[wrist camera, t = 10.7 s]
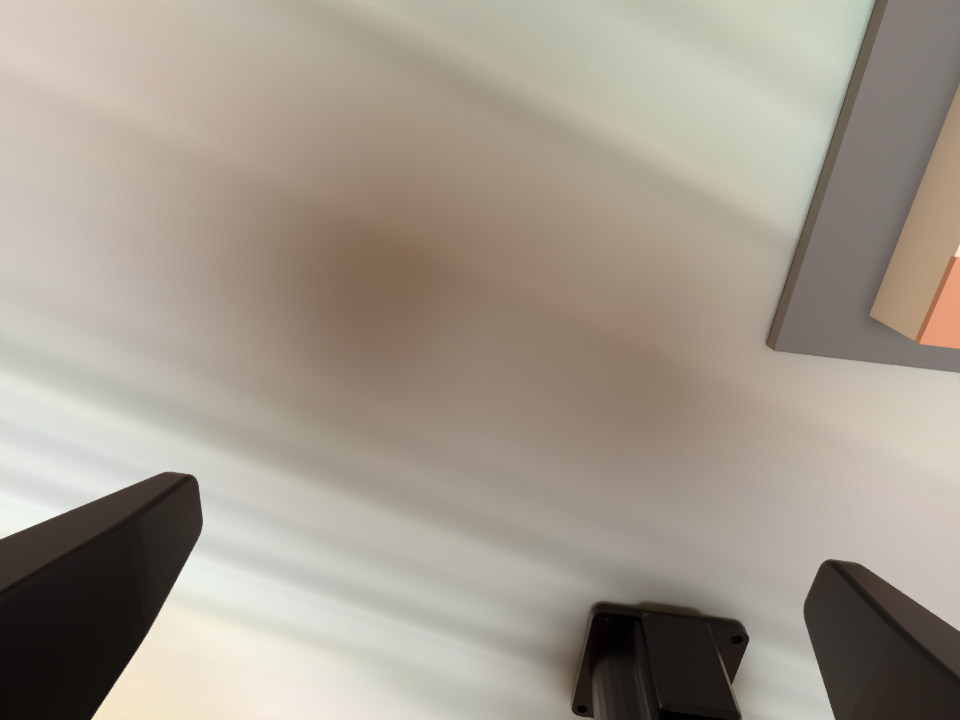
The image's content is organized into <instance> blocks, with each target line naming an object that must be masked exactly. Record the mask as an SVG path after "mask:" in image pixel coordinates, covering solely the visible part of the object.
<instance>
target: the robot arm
mask: <svg viewBox="0 0 960 720" xmlns="http://www.w3.org/2000/svg"><path fill="white" fill-rule="evenodd" d="M202 525H203V517H202V509H201V501H200V493H199V485H198V481H197V479H196V478H195V477H194V476H193V475H190V474H184V473H176V472H164V473H161V474H158V475H156V476H153V477H151V478H149V479H146V480H144V481H141V482H139V483H136V484H134V485H132V486H129V487H127V488H124V489H122V490H119V491H117V492H115V493H112V494H110V495H107V496H105V497H102V498H100V499H98V500H95V501H93V502H90V503H88V504H85V505H83V506H81V507H78V508H76V509H73V510H71V511H68V512H66V513H64V514H61V515H59V516H56V517H54V518H51V519H49V520H47V521H44V522H42V523H39V524H37V525H34V526H32V527H30V528H27V529H25V530H22V531H20V532H17V533H15V534H13V535H10V536H8V537H5V538H3V539H0V720H91V719H92V718H93V716H94V715H95V713H96V711H97V710H98V708H99V707H100V705H101V704H102V702H103V701H104V699H105V698H106V696H107V695H108V693H109V692H110V690H111V689H112V687H113V686H114V684H115V683H116V681H117V680H118V678H119V677H120V675H121V674H122V672H123V671H124V669H125V668H126V666H127V665H128V663H129V662H130V660H131V659H132V657H133V655H134V654H135V652H136V651H137V649H138V648H139V646H140V645H141V643H142V641H143V640H144V638H145V637H146V635H147V634H148V632H149V630H150V628H151V626H152V625H153V623H154V621H155V619H156V618H157V616H158V614H159V612H160V610H161V608H162V606H163V604H164V603H165V601H166V599H167V597H168V595H169V593H170V591H171V589H172V587H173V586H174V584H175V582H176V580H177V578H178V576H179V574H180V572H181V570H182V568H183V567H184V565H185V563H186V561H187V559H188V557H189V555H190V553H191V551H192V550H193V548H194V546H195V544H196V542H197V540H198V538H199V536H200V533H201V530H202ZM601 617H606V618H601ZM804 619H805V623H806V626H807V629H808V633H809V636H810V639H811V643H812V646H813V649H814V652H815V656H816V659H817V662H818V665H819V669H820V672H821V675H822V678H823V682H824V685H825V688H826V691H827V695H828V698H829V701H830V704H831V708H832V711H833V714H834V717H835V720H960V631H958V630H957V629H955V628H954V627H952V626H951V625H949V624H948V623H946V622H945V621H943V620H942V619H940V618H939V617H937V616H936V615H935V614H933V613H932V612H930V611H929V610H927V609H926V608H924V607H923V606H921V605H920V604H918V603H917V602H915V601H914V600H912V599H911V598H910V597H908V596H907V595H905V594H904V593H902V592H901V591H899V590H898V589H896V588H895V587H893V586H892V585H890V584H889V583H887V582H886V581H885V580H883V579H882V578H880V577H879V576H877V575H876V574H874V573H873V572H871V571H870V570H868V569H867V568H865V567H864V566H862V565H861V564H858V563H855V562H849V561H841V560H834V559H829V560H826V561H824V562H823V563H822V564H821V566H820V568H819V570H818V572H817V574H816V577H815V579H814V581H813V584H812V586H811V588H810V591H809V593H808V595H807V598H806V600H805V603H804ZM735 635H736V636H735ZM748 642H749V636H748V634H747V632H746V629H745V627H744V626H742V625H741V624H738V623H732V622H725V621H718V620H711V619H703V618H696V617H689V616H682V615H675V614H667V613H660V612H653V611H646V610H638V609H631V608H624V607H617V606H610V605H599V606H596V607H595V608H593V610H592V612H591V616H590V620H589V624H588V628H587V633H586V637H585V641H584V646H583V650H582V654H581V658H580V663H579V667H578V671H577V676H576V680H575V684H574V688H573V693H572V697H571V707H572V712H573V713H574V714H576V715H578V716H582V717H589V718H594V720H742V717H741V711H740V709H739V706H738V703H737V700H736V697H735V695H734V692H733V689H732V686H731V685H732V683H733V680H734V678H735V675H736V673H737V670H738V668H739V665H740V663H741V660H742V657H743V655H744V652H745V650H746V647H747V645H748Z"/></svg>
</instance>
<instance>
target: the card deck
mask: <svg viewBox="0 0 960 720" xmlns="http://www.w3.org/2000/svg"><path fill="white" fill-rule="evenodd" d="M869 316H871V317H873V318H875V319H876V320H878V321H880V322H882V323H883V324H885V325H887V326H889V327H890V328H892V329H894V330H896V331H898V332H899V333H901V334H903V335H905V336H906V337H908V338H910V339H912V340H913V341H915V342H916V343H918V344H923V345H932V346H940V347H949V348H957V349H960V83H959V86H958V88H957V91H956V94H955V96H954V99H953V101H952V104H951V106H950V109H949V112H948V114H947V117H946V119H945V122H944V124H943V127H942V130H941V132H940V135H939V137H938V140H937V142H936V145H935V147H934V150H933V153H932V155H931V158H930V160H929V163H928V165H927V168H926V171H925V173H924V176H923V178H922V181H921V183H920V186H919V189H918V191H917V194H916V196H915V199H914V201H913V204H912V207H911V209H910V212H909V214H908V217H907V219H906V222H905V225H904V227H903V230H902V232H901V235H900V237H899V240H898V242H897V245H896V248H895V250H894V253H893V255H892V258H891V260H890V263H889V266H888V268H887V271H886V273H885V276H884V278H883V281H882V284H881V286H880V289H879V291H878V294H877V296H876V299H875V302H874V304H873V307H872V309H871V312H870V314H869Z"/></svg>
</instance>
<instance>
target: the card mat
mask: <svg viewBox="0 0 960 720" xmlns="http://www.w3.org/2000/svg"><path fill="white" fill-rule="evenodd" d="M959 83H960V0H877V1H876V4H875V7H874V10H873V13H872V16H871V20H870V23H869V26H868V29H867V32H866V35H865V38H864V42H863V45H862V48H861V51H860V54H859V57H858V60H857V63H856V67H855V70H854V73H853V76H852V79H851V82H850V85H849V89H848V92H847V95H846V98H845V101H844V104H843V107H842V110H841V114H840V117H839V120H838V123H837V126H836V129H835V132H834V136H833V139H832V142H831V145H830V148H829V151H828V154H827V157H826V161H825V164H824V167H823V170H822V173H821V176H820V179H819V182H818V186H817V189H816V192H815V195H814V198H813V201H812V204H811V208H810V211H809V214H808V217H807V220H806V223H805V226H804V229H803V233H802V236H801V239H800V242H799V245H798V248H797V251H796V255H795V258H794V261H793V264H792V267H791V270H790V273H789V276H788V280H787V283H786V286H785V289H784V292H783V295H782V298H781V302H780V305H779V308H778V311H777V314H776V317H775V320H774V323H773V327H772V330H771V333H770V336H769V339H768V342H767V345H768V346H769V347H770V348H772V349H773V350H774V351H780V352H789V353H797V354H806V355H814V356H823V357H831V358H840V359H848V360H856V361H865V362H873V363H882V364H890V365H899V366H907V367H916V368H924V369H933V370H941V371H950V372H958V373H960V349H957V348H949V347H940V346H932V345H923V344H918V343H916V342H915V341H913V340H912V339H910V338H908V337H906V336H905V335H903V334H901V333H899V332H898V331H896V330H894V329H892V328H890V327H889V326H887V325H885V324H883V323H882V322H880V321H878V320H876V319H875V318H873V317H871V316H869V314H870V312H871V309H872V307H873V304H874V302H875V299H876V296H877V294H878V291H879V289H880V286H881V284H882V281H883V278H884V276H885V273H886V271H887V268H888V266H889V263H890V260H891V258H892V255H893V253H894V250H895V248H896V245H897V242H898V240H899V237H900V235H901V232H902V230H903V227H904V225H905V222H906V219H907V217H908V214H909V212H910V209H911V207H912V204H913V201H914V199H915V196H916V194H917V191H918V189H919V186H920V183H921V181H922V178H923V176H924V173H925V171H926V168H927V165H928V163H929V160H930V158H931V155H932V153H933V150H934V147H935V145H936V142H937V140H938V137H939V135H940V132H941V130H942V127H943V124H944V122H945V119H946V117H947V114H948V112H949V109H950V106H951V104H952V101H953V99H954V96H955V94H956V91H957V88H958V86H959Z"/></svg>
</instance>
